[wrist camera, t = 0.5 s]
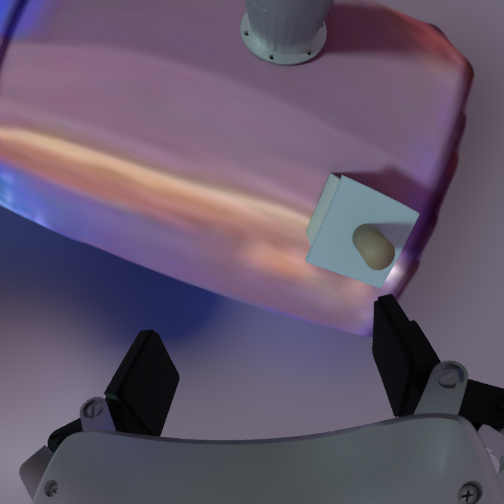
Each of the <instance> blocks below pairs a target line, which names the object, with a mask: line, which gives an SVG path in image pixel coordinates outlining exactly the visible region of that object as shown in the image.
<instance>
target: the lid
mask: <svg viewBox="0 0 504 504" xmlns="http://www.w3.org/2000/svg"><path fill="white" fill-rule="evenodd" d="M419 214H420V213H418V212H417V211H415V210H413V209H411V208H409V207H407V206H406V205H404V204H402V203H400V202H398V201H396V200H394V199H392V198H390V197H388V196H386V195H384V194H382V193H380V192H378V191H376V190H374V189H372V188H370V187H368V186H366V185H363V184H361V183H359V182H357V181H355V180H353V179H350V178H348V177H346V176H344V175H342V176H341V179H340V181H339V183H338V186H337V188H336V191H335V193H334V195H333V198H332V200H331V202H330V205H329V207H328V209H327V212H326V214H325V216H324V218H323V221H322V223H321V225H320V228H319V230H318V232H317V234H316V236H315V239H314V241H313V243H312V245H311V248H310V250H309V252H308V254H307V256H306V258H305V259H306V262H307V263H310V264H313V265H316V266H319V267H322V268H325V269H327V270H330V271H333V272H336V273H339V274H342V275H344V276H347V277H350V278H353V279H356V280H358V281H361V282H364V283H367V284H370V285H373V286H375V287H378V288H381V287H382V285H383V283H384V282H385V280H386V278H387V276H388V275H389V273H390V271H391V269H392V267H393V266H394V264H395V262H396V260H397V258H398V256H399V254H400V253H401V251H402V249H403V247H404V245H405V243H406V241H407V239H408V237H409V235H410V233H411V231H412V229H413V227H414V225H415V223H416V220H417V218H418V216H419Z"/></svg>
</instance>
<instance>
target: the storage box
mask: <svg viewBox="0 0 504 504" xmlns="http://www.w3.org/2000/svg"><path fill="white" fill-rule="evenodd" d="M340 179H341V177H339V176H336V175H334V174H332V173H330V176H329V178H328V180H327V183H326V185H325V188H324V190H323V193H322V195H321V197H320V200H319V202H318V205H317V207H316V209H315V212H314V214H313V216H312V219H311V221H310V223H309V226H308V228H307V230H306V234H307V237H308V240H309V243H310V246H311V245H312V243H313V241H314V239H315V236H316V234H317V232H318V230H319V228H320V225H321V223H322V221H323V218H324V216H325V214H326V212H327V209H328V207H329V205H330V202H331V200H332V198H333V195H334V193H335V191H336V188H337V186H338V183H339V181H340Z"/></svg>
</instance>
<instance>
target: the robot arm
mask: <svg viewBox="0 0 504 504" xmlns="http://www.w3.org/2000/svg"><path fill="white" fill-rule="evenodd" d="M244 1H245V5H246V9H247V11H246V13H245V14H244V16H243V18H242V21H241V28H240V30H241V36H242V39H243V41H244V43H245V45H246V47H247V48H248V49H249V50H250V51H251V53H253V54H254V55H255V56H257V57H258V58H260V59H262V60H264V61H266V62H269V63H272V64H277V65H288V66H289V65H297V64H301V63H304V62H306V61H308V60H310V59H312V58H313V57H315V56H316V55H317V54H318V53H319V52H320V51H321V49H322V48H323V46H324V44H325V41H326V37H327V28H326V24H325V21H324V19H325V17H326V15H327V13H328V11H329V9H330V7H331V5H332V3H333V1H334V0H244ZM246 34H249V35H248V36H245V35H246ZM307 53H310V54H311V55H308V54H307ZM271 57H273V58H274V59H273V60H271V59H270V58H271ZM372 352H373V357H374V360H375V362H376V365H377V367H378V370H379V373H380V376H381V378H382V381H383V384H384V387H385V390H386V393H387V396H388V399H389V402H390V404H391V408H392V411H393V414H394V416H395V417H397V416H399V417H398V418H393V419H389V420H384V421H380V422H375V423H371V424H366V425H362V426H357V427H352V428H347V429H341V430H335V431H330V432H323V433H317V434H309V435H302V436H294V437H282V438H270V439H254V440H198V439H197V440H196V439H180V438H167V437H160V435H161V433H162V430H163V427H164V424H165V421H166V417H167V414H168V412H169V409H170V406H171V403H172V400H173V397H174V394H175V391H176V388H177V385H178V382H179V374H178V372H177V370H176V368H175V366H174V364H173V362H172V360H171V359H170V357H169V354H168V353H167V351H166V349H165V347H164V345H163V343H162V340H161V338H160V336H159V335H158V333H155V331H154V330H142V331H140V332H139V334H138V335H137V337H136V339H135V340H134V342H133V344H132V345H131V347H130V349H129V351H128V352H127V354H126V356H125V357H124V359H123V361H122V362H121V364H120V366H119V368H118V370H117V371H116V373H115V375H114V376H113V378H112V380H111V382H110V384H109V385H108V387H107V389H106V391H105V393H104V394H105V395H106V398H105V399H103V398H101V397H94V398H91V399H89V400H87V401H86V402H85V403H84V404H83V406H82V407H81V410H80V418H79V419H77V420H75V421H73V422H71V423H69V424H67V425H65V426H63V427H61V428H59V429H57V430H55V431H54V432H53V433H52V434H51V435H50V437H49V439H48V447H46V446H45V445H44V446H43V447H42V448H41V449H40V450H38V451H37V452H36V453H35V454H34V455H32V456H31V457H30V458H29V459H28V460H26V461H25V462H24V463H23V464H22V465H21V467H20V472H19V474H20V477H21V479H22V481H23V483H24V485H25V487H26V489H27V491H28V493H29V495H30V497H31V499H32V500H33V501H32V504H504V389H503V388H499V387H495V386H492V385H488V384H485V383H481V382H478V381H474V380H470V379H468V373H467V370H466V369H465V367H464V366H463V365H462V364H460V363H458V362H455V361H444V362H440V360H439V358H438V356H437V354H436V353H435V351H434V349H433V348H432V346H431V344H430V343H429V341H428V340H427V338H426V337H425V335H424V333H423V332H422V330H421V328H420V327H419V325H418V324H417V322H416V321H414V320H413V321H409V320H408V318H407V316H406V315H405V313H404V312H403V310H402V308H401V307H400V305H399V304H398V302H397V301H396V299H395V298H394V296H393V295H392V294H389V295H384V296H380V297H378V301H375V302H374V324H373V346H372ZM486 447H488V448H489V449H490V450H492V452H491V454H493V455H494V456H496V458H497V459H498V460H499V463H500V468H499V472H498V474H496V471H495V469H494V466H493V463H492V461H491V458H490V456H489V453H488V451H487V449H486ZM461 487H462V488H461Z"/></svg>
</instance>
